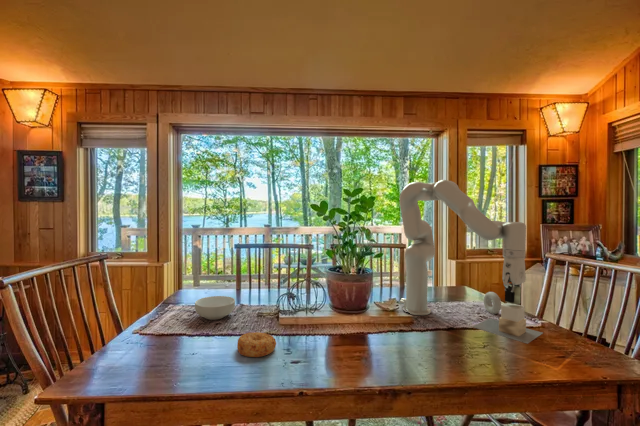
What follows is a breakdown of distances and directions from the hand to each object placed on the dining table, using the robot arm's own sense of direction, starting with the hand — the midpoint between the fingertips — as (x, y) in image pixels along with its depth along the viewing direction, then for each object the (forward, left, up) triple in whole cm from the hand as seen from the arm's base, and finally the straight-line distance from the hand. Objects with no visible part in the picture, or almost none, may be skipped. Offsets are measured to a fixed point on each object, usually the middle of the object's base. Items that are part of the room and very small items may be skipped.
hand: (512, 300), depth 125 cm
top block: (0, 0, -7) cm, 7 cm away
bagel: (-47, -86, -13) cm, 99 cm away
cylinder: (0, 0, -1) cm, 1 cm away
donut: (-15, +17, -13) cm, 26 cm away
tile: (-2, 0, -13) cm, 13 cm away
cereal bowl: (-87, -85, -13) cm, 122 cm away
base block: (0, 0, -12) cm, 12 cm away
